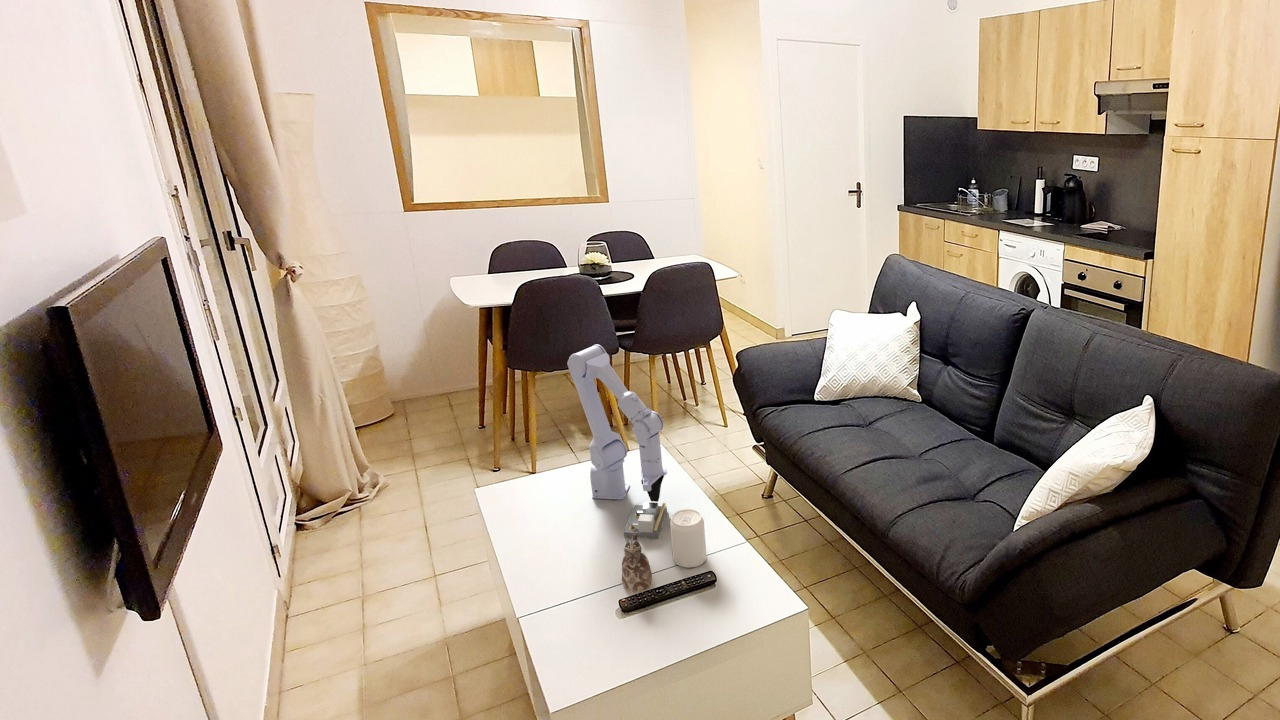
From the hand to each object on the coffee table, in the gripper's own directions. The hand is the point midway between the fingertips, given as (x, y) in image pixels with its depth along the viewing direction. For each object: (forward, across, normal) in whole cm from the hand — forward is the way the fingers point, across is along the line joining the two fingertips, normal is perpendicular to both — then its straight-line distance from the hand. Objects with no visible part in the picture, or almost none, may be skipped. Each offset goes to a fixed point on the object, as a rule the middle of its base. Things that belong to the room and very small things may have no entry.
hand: (654, 500), depth 191 cm
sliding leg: (+1, -6, +1) cm, 6 cm away
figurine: (+3, -31, -2) cm, 31 cm away
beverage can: (+3, -21, -13) cm, 25 cm away
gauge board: (+3, -7, +1) cm, 8 cm away
